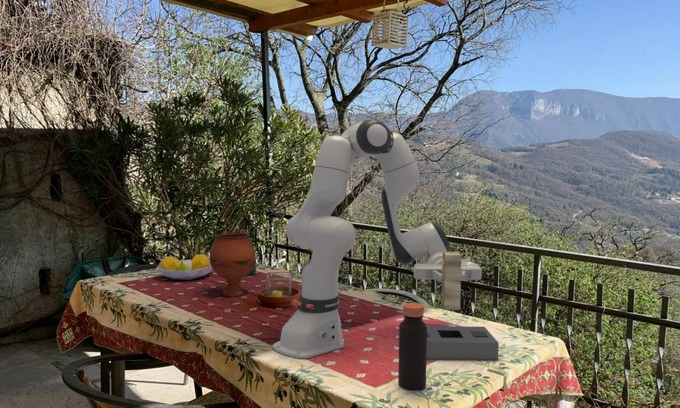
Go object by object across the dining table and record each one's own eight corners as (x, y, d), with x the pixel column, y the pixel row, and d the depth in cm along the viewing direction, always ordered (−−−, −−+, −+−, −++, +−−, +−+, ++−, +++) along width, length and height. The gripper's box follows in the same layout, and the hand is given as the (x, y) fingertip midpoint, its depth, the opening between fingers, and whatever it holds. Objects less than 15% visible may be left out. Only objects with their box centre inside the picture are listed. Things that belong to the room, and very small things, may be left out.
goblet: (243, 285, 224) (242, 230, 222) (264, 294, 209) (264, 235, 207) (202, 292, 212) (201, 233, 210) (222, 302, 197) (221, 239, 195)
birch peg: (441, 305, 149) (442, 251, 147) (456, 305, 149) (457, 251, 147) (444, 309, 144) (445, 254, 143) (460, 309, 144) (461, 254, 143)
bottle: (416, 393, 119) (417, 311, 118) (392, 385, 124) (394, 305, 122) (431, 384, 124) (432, 305, 123) (408, 376, 129) (409, 300, 127)
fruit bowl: (172, 270, 256) (172, 248, 255) (223, 272, 252) (223, 249, 251) (143, 283, 228) (143, 258, 227) (200, 285, 224) (200, 260, 223)
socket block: (405, 341, 154) (406, 325, 154) (483, 342, 154) (484, 326, 154) (412, 359, 140) (412, 341, 140) (498, 360, 140) (498, 342, 140)
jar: (236, 272, 250) (236, 257, 250) (256, 272, 251) (256, 257, 251) (234, 277, 240) (234, 261, 240) (255, 277, 241) (255, 261, 241)
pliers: (330, 287, 219) (360, 297, 204) (330, 289, 219) (360, 299, 204) (312, 291, 213) (341, 301, 198) (312, 293, 213) (341, 303, 198)
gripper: (409, 257, 158) (416, 266, 145) (474, 258, 158) (487, 267, 144) (409, 277, 159) (415, 288, 145) (473, 278, 159) (486, 288, 145)
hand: (452, 277), depth 145 cm, fingers closed on birch peg, 4 cm apart
